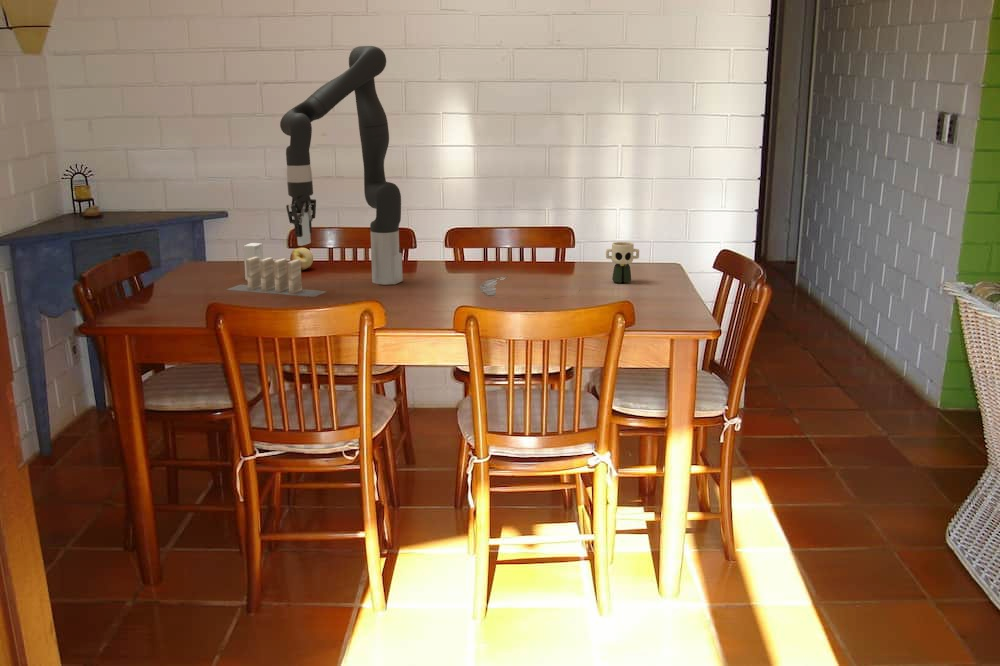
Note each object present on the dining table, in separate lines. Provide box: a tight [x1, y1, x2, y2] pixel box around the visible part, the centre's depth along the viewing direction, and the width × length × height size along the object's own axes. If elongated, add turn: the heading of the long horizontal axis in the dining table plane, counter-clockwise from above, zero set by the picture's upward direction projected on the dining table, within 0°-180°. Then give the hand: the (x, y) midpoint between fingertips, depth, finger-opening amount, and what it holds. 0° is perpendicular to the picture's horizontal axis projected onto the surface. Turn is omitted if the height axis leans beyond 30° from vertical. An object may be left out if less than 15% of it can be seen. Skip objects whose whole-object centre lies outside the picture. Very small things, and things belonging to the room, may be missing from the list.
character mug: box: [605, 241, 640, 283], centre depth 315 cm, size 11×7×13 cm, turn 89°
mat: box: [226, 283, 328, 298], centre depth 304 cm, size 32×8×1 cm, turn 71°
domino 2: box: [260, 256, 275, 292], centre depth 304 cm, size 2×5×10 cm, turn 161°
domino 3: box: [273, 257, 289, 293], centre depth 302 cm, size 2×5×10 cm, turn 161°
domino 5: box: [296, 212, 312, 247], centre depth 295 cm, size 2×5×10 cm, turn 160°
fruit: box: [289, 247, 314, 271], centre depth 337 cm, size 8×8×8 cm
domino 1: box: [246, 257, 261, 291], centre depth 305 cm, size 2×5×10 cm, turn 161°
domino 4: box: [287, 259, 303, 294], centre depth 301 cm, size 2×5×10 cm, turn 161°
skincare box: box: [242, 242, 264, 281], centre depth 321 cm, size 6×4×12 cm
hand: (303, 234), depth 296 cm, fingers closed on domino 5, 5 cm apart
